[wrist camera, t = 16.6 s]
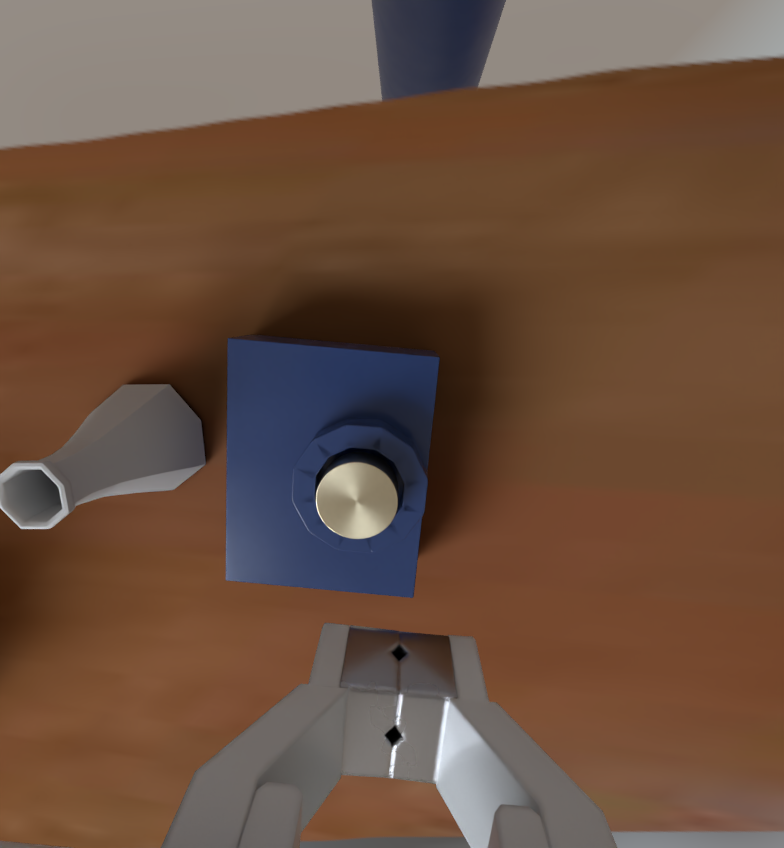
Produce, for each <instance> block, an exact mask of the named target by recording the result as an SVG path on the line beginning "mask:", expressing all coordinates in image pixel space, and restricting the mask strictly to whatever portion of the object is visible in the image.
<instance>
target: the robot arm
mask: <svg viewBox="0 0 784 848" xmlns="http://www.w3.org/2000/svg"><path fill="white" fill-rule="evenodd" d="M341 775H353V776H369V777H385V778H394V779H402V780H410V781H418V782H425V783H433V784H437V785H436V787H437V789H438V791H439V792H440V794H441V796H442V798H443V799H444V801H445V803H446V805H447V806H448V808H449V810H450V812H451V813H452V815H453V817H454V819H455V820H456V822H457V824H458V826H459V827H460V829H461V831H462V833H463V834H464V836H465V838H466V840H467V841H468V843H469V845H470V847H471V848H617V847H616V844H615V841H614V839H613V836H612V833H611V831H610V828H609V826H608V823H607V821H606V818H605V816H604V813H603V811H602V810H601V809H600V808H599V807H598V806H597V805H596V804H595V803H594V802H593V801H592V800H591V799H590V798H589V797H588V796H587V795H586V794H585V793H584V792H583V791H582V790H581V789H580V788H579V787H578V785H577V784H576V783H575V782H574V781H573V780H572V779H571V778H570V777H569V776H568V775H567V774H566V773H565V772H564V771H563V770H562V769H561V768H560V767H559V766H558V765H557V764H556V763H555V762H554V761H553V760H552V759H551V758H550V757H549V756H548V755H547V754H546V753H545V752H544V751H543V750H542V748H541V747H540V746H539V745H538V744H537V743H536V742H535V741H534V740H533V739H532V738H531V737H530V736H529V735H528V734H527V733H526V732H525V731H524V730H523V729H522V728H521V727H520V726H519V725H518V724H517V723H516V722H515V721H514V720H513V719H512V718H511V717H510V716H509V715H508V714H507V712H506V711H505V710H504V709H503V708H502V707H501V706H500V705H499V704H498V703H496V702H489V699H488V695H487V690H486V686H485V681H484V677H483V672H482V667H481V663H480V658H479V654H478V649H477V645H476V640H475V639H474V638H473V637H471V636H456V635H448V636H444V635H433V634H422V633H411V632H400V631H394V630H386V629H378V628H369V627H361V626H353V625H350V626H349V625H342V624H332V623H325V624H324V626H323V627H322V631H321V635H320V639H319V643H318V647H317V651H316V655H315V659H314V663H313V667H312V671H311V675H310V679H309V683H308V684H300V685H298V686H297V687H296V688H295V689H294V690H292V691H291V692H290V693H289V694H288V695H287V696H285V697H284V698H283V699H282V700H281V701H279V702H278V703H277V704H276V705H275V706H273V707H272V708H271V709H270V710H269V711H267V712H266V713H265V714H264V715H263V716H261V717H260V718H259V719H258V720H257V721H255V722H254V723H253V724H252V725H251V726H249V727H248V728H247V729H246V730H245V731H243V732H242V733H241V734H240V735H239V736H237V737H236V738H235V739H234V740H233V741H231V742H230V743H229V744H228V745H227V746H225V747H224V748H223V749H222V750H221V751H219V752H218V753H217V754H216V755H215V756H213V757H212V758H211V759H210V760H209V761H207V762H206V763H205V764H204V765H203V766H201V767H200V768H199V769H198V770H197V771H195V773H194V775H193V777H192V780H191V782H190V784H189V786H188V789H187V791H186V793H185V795H184V797H183V800H182V802H181V804H180V806H179V809H178V811H177V813H176V815H175V818H174V820H173V822H172V824H171V826H170V829H169V831H168V833H167V835H166V838H165V840H164V842H163V844H162V846H161V848H300V834H301V832H302V831H303V829H304V828H305V827H306V825H307V824H308V822H309V821H310V820H311V818H312V817H313V816H314V814H315V813H316V811H317V810H318V809H319V807H320V806H321V804H322V803H323V802H324V800H325V799H326V798H327V796H328V795H329V793H330V792H331V791H332V789H333V788H334V786H335V785H336V784H337V782H338V781H339V780H340V778H341ZM0 848H71V847H61V846H50V845H40V844H29V843H19V842H8V841H0Z"/></svg>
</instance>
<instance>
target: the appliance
mask: <svg viewBox="0 0 784 848" xmlns="http://www.w3.org/2000/svg"><path fill="white" fill-rule="evenodd" d="M439 361H440V357H439V356H438V355H437V353H436V352H435V351H430V350H419V349H408V348H397V347H386V346H375V345H364V344H353V343H342V342H331V341H320V340H309V339H298V338H287V337H276V336H265V335H254V334H253V335H246V336H239V337H232V338H228V370H227V496H226V580H228V581H239V582H250V583H260V584H271V585H282V586H293V587H303V588H314V589H325V590H335V591H346V592H357V593H368V594H378V595H389V596H400V597H410V598H413V596H414V587H415V578H416V569H417V560H418V551H419V542H420V533H421V524H422V516H423V515H424V513H425V505H426V496H427V487H428V477H427V470H428V461H429V452H430V442H431V433H432V424H433V415H434V406H435V397H436V388H437V379H438V370H439ZM352 452H366V453H370V454H373V455H376V456H378V457H380V458H381V459H383V460H384V461H385V462H386V463H387V464H388V465H389V466H390V467H391V468H392V470H393V471H394V473H395V475H396V478H397V482H398V507H397V511H396V515H395V517H394V519H393V520H392V522H391V523H390V525H389V526H388V527H387V528H386V529H385V530H383V531H382V532H381V533H379V534H377V535H375V536H372V537H369V538H365V539H351V538H346V537H343V536H341V535H338V534H337V533H335V532H333V531H332V530H331V529H329V528H328V527H327V526H326V525H325V523H324V522H323V521H322V519H321V518H320V516H319V513H318V511H317V507H316V492H317V488H318V486H319V483H320V481H321V479H322V477H323V475H324V473H325V471H326V470H327V468H328V467H329V465H330V464H331V463H332V462H333V461H334V460H336V459H337V458H339V457H340V456H342V455H345V454H348V453H352Z"/></svg>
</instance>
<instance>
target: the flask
mask: <svg viewBox="0 0 784 848" xmlns="http://www.w3.org/2000/svg"><path fill="white" fill-rule="evenodd" d="M204 465H206V461H205V452H204V443H203V434H202V424H201V420H200V419H199V417H198V416H197V415H196V414H195V413H194V412H193V411H192V409H191V408H190V407H189V406H188V405H187V404H186V403H185V401H184V400H183V399H182V398H181V397H180V396H179V395H178V393H177V392H176V391H175V390H174V389H173V388H172V387H171V385H170V384H139V385H123V386H121V387H120V388H119V389H118V390H117V391H116V392H114V393H113V394H112V395H111V396H110V397H109V398H107V399H106V400H105V401H104V402H103V403H102V404H100V405H99V406H98V407H97V408H96V409H95V410H94V411H92V412H91V413H90V414H89V416H88V417H87V418H86V419H85V421H84V422H83V423H82V425H81V426H80V427H79V429H78V430H77V431H76V432H75V434H74V435H73V436H72V437H71V438H70V439H69V441H68V442H67V443H66V444H65V445H64V446H63V447H62V448H60V449H59V450H58V451H56V452H55V453H53V454H52V455H50V456H48V457H45V458H43V459H40V460H38V461H17V462H15V463H13V464H12V465H11V466H9V467H8V468H7V469H6V470H5V471H4V472H3V473H1V474H0V508H1V509H2V510H3V511H4V512H5V513H6V514H7V515H8V516H9V517H10V518H11V519H12V520H13V521H14V522H15V523H16V524H17V525H18V526H19V527H20V528H21V529H50V528H52V527H54V526H55V525H56V524H57V523H59V522H60V521H61V520H62V519H63V518H65V517H66V516H67V515H68V514H69V513H71V512H72V511H73V510H74V509H75V506H77V505H79V504H83V503H86V502H89V501H92V500H95V499H98V498H101V497H105V496H114V495H122V494H130V493H139V492H154V491H167V490H174V489H175V488H176V487H178V486H179V485H180V484H181V483H183V482H184V481H185V480H187V479H188V478H189V477H190V476H192V475H193V474H194V473H195V472H197V471H198V470H199V469H200V468H202V467H203V466H204Z"/></svg>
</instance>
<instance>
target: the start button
mask: <svg viewBox="0 0 784 848" xmlns="http://www.w3.org/2000/svg"><path fill="white" fill-rule="evenodd" d="M316 507H317V511H318V513H319V516H320V518H321V519H322V521H323V522H324V523H325V525H326V526H327V527H328V528H329V529H331V530H332V531H333V532H335V533H337V534H338V535H341V536H343V537H346V538H351V539H365V538H369V537H372V536H375V535H377V534H379V533H381V532H382V531H383V530H385V529H386V528H387V527H388V526H389V525H390V523H391V522H392V520H393V519H394V517H395V515H396V511H397V507H398V482H397V478H396V475H395V473H394V471H393V470H392V468H391V467H390V466H389V465H388V464H387V463H386V462H385V461H384V460H383V459H381V458H380V457H378V456H376V455H373V454H370V453H366V452H352V453H348V454H345V455H342V456H340V457H339V458H337V459H336V460H334V461H333V462H332V463H331V464H330V465H329V467H328V468H327V470H326V471H325V473H324V475H323V477H322V479H321V481H320V483H319V486H318V488H317V492H316Z"/></svg>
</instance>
